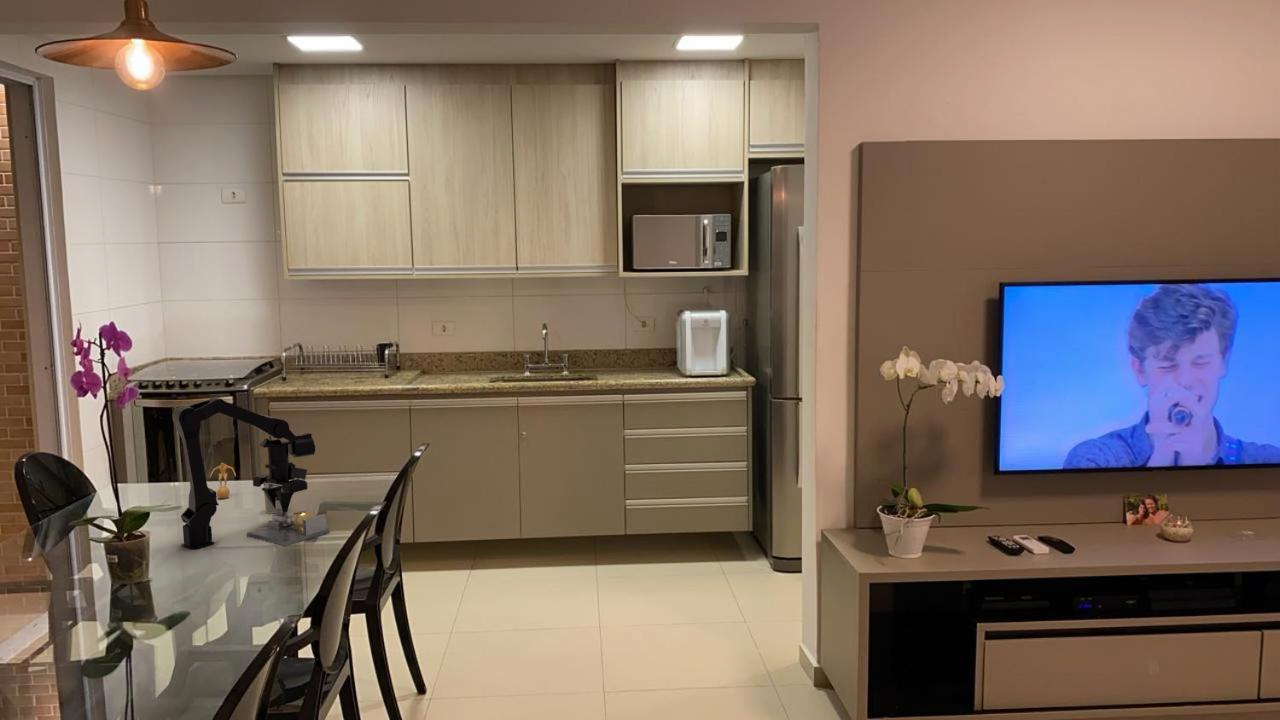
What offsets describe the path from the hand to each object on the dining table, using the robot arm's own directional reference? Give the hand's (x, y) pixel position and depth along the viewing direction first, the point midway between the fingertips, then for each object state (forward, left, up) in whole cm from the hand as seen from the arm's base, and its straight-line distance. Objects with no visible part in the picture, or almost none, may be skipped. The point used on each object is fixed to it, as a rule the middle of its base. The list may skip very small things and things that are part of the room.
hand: (281, 511), depth 279 cm
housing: (0, -10, -4) cm, 11 cm away
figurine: (+13, +50, -5) cm, 52 cm away
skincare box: (+11, +18, -5) cm, 22 cm away
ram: (0, -2, -4) cm, 4 cm away
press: (-3, -8, -5) cm, 10 cm away
